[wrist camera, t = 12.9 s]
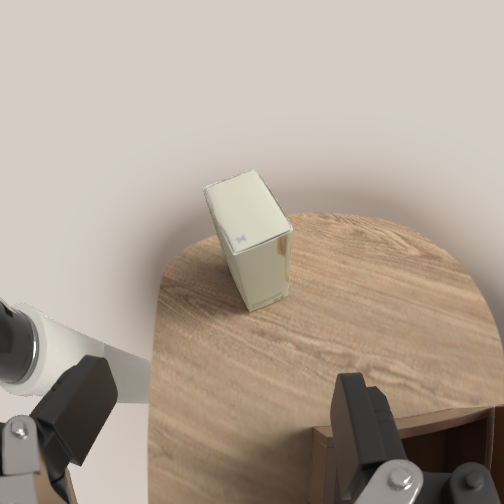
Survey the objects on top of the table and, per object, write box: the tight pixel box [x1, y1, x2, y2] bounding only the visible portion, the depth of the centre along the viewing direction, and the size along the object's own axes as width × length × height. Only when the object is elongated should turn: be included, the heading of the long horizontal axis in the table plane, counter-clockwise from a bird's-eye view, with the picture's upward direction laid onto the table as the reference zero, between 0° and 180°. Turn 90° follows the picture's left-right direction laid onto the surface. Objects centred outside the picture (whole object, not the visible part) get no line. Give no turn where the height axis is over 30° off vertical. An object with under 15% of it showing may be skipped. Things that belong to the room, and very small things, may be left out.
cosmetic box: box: [203, 169, 293, 312], centre depth 26 cm, size 6×4×12 cm
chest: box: [308, 406, 494, 504], centre depth 17 cm, size 15×13×8 cm
